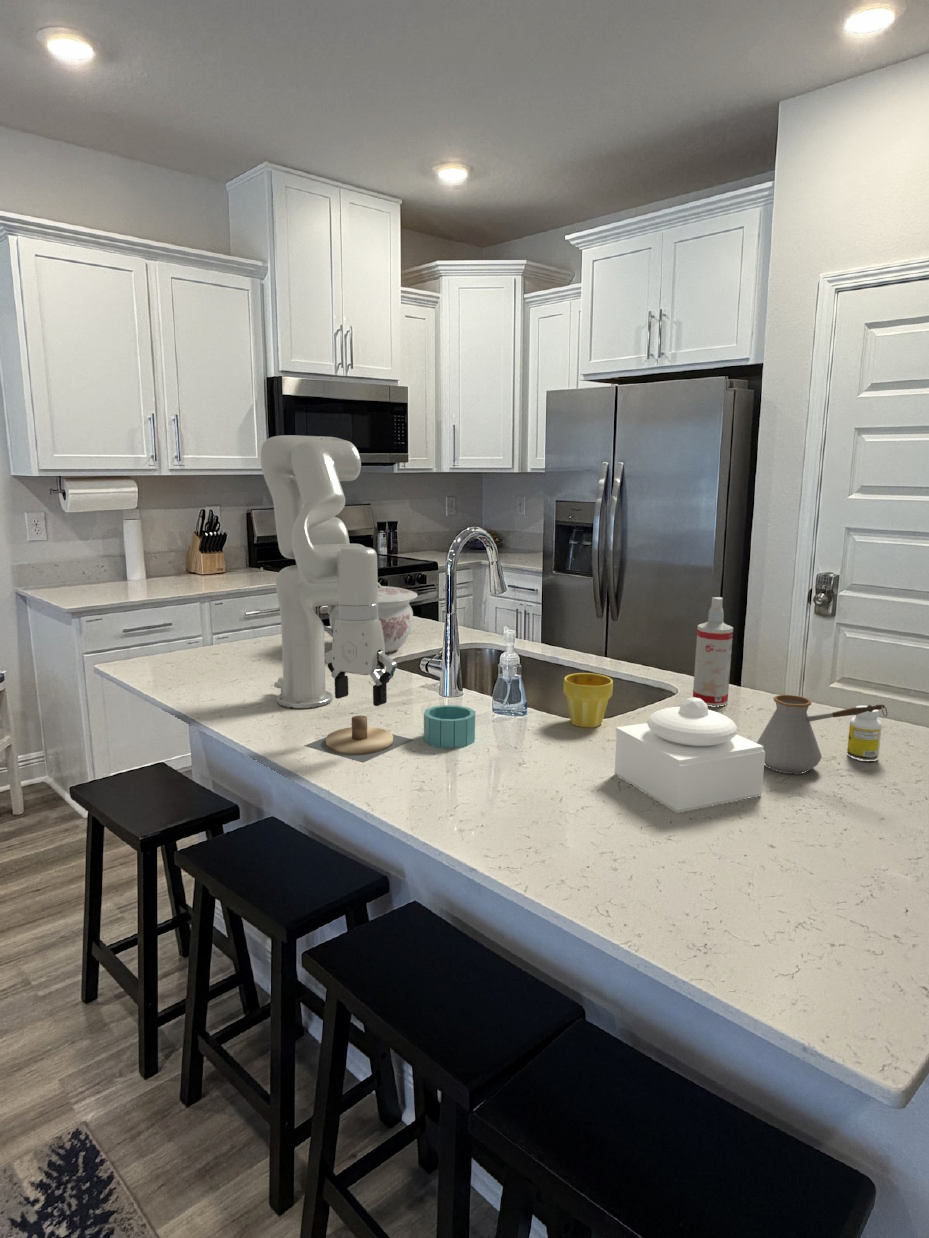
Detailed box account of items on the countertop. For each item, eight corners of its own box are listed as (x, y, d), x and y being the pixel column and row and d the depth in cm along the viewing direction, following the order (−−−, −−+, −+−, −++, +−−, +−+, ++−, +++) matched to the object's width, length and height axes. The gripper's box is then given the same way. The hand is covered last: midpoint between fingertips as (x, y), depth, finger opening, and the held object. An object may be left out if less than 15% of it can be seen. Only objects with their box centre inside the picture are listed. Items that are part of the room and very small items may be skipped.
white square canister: (677, 814, 126) (683, 718, 123) (612, 774, 142) (616, 689, 139) (761, 797, 133) (769, 706, 130) (691, 761, 149) (696, 679, 146)
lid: (311, 745, 153) (311, 720, 152) (356, 727, 164) (356, 703, 163) (363, 759, 146) (362, 733, 145) (406, 739, 156) (406, 715, 156)
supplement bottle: (852, 750, 155) (857, 702, 153) (882, 757, 152) (887, 708, 150) (842, 757, 152) (847, 708, 150) (872, 765, 148) (877, 714, 146)
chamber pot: (433, 645, 242) (434, 578, 238) (389, 665, 218) (388, 590, 214) (355, 636, 253) (354, 572, 249) (304, 654, 229) (302, 583, 225)
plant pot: (610, 732, 164) (612, 686, 162) (560, 728, 166) (561, 683, 164) (611, 717, 174) (613, 674, 172) (564, 713, 176) (565, 671, 174)
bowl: (414, 743, 156) (414, 714, 155) (443, 730, 164) (443, 702, 163) (455, 754, 151) (456, 724, 150) (484, 739, 159) (484, 711, 158)
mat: (304, 748, 153) (304, 745, 153) (356, 727, 165) (356, 725, 165) (363, 765, 145) (363, 762, 144) (413, 742, 157) (413, 739, 157)
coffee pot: (743, 767, 146) (750, 688, 143) (766, 751, 155) (773, 676, 152) (869, 799, 132) (879, 713, 129) (886, 779, 141) (896, 698, 138)
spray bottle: (714, 696, 191) (721, 594, 186) (733, 705, 184) (742, 599, 179) (686, 699, 188) (693, 595, 184) (705, 708, 181) (712, 600, 177)
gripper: (311, 611, 151) (314, 698, 154) (380, 619, 142) (382, 712, 145) (338, 606, 158) (340, 690, 160) (406, 614, 148) (408, 703, 151)
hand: (360, 700), depth 152 cm, fingers open, 9 cm apart
